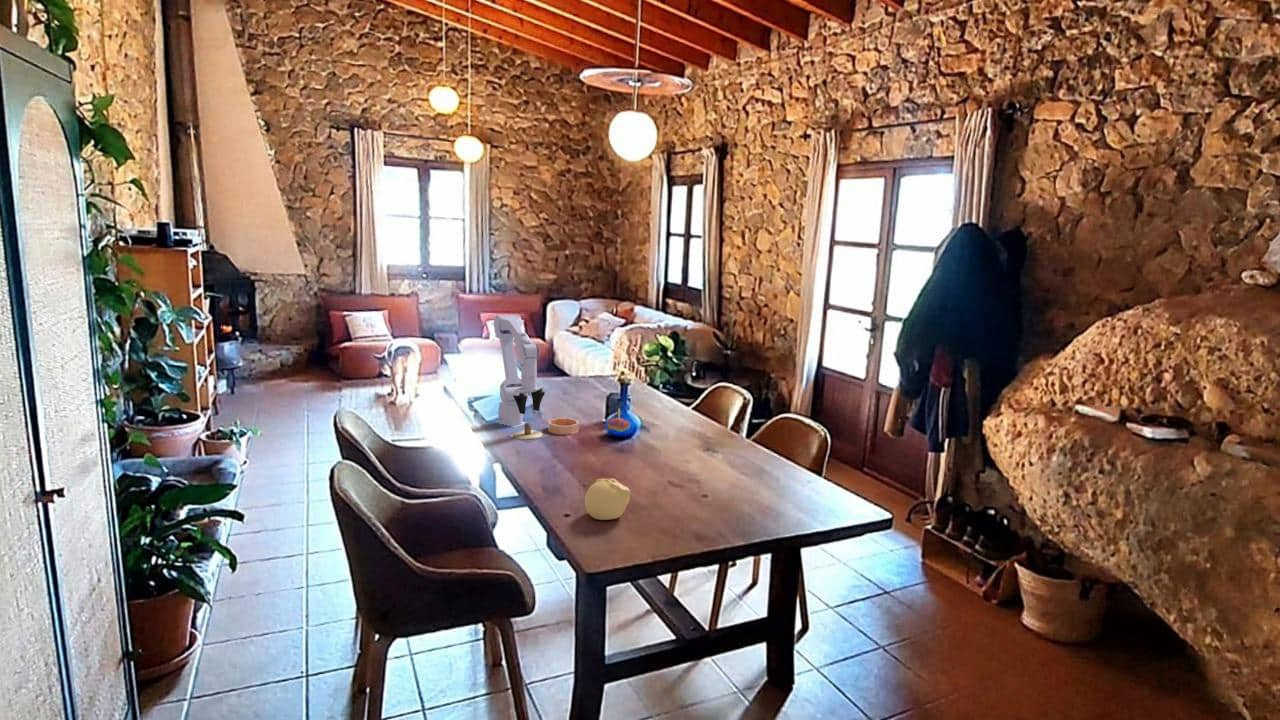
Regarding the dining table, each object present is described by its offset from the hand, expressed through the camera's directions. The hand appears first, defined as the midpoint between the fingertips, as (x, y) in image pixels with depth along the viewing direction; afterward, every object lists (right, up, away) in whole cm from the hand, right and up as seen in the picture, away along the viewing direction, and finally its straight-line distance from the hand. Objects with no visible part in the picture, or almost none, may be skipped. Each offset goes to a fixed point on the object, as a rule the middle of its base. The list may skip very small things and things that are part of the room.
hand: (529, 411), depth 273 cm
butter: (+32, -25, -67) cm, 78 cm away
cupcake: (+33, -10, +8) cm, 36 cm away
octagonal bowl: (+12, -8, +11) cm, 18 cm away
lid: (-1, -9, +2) cm, 9 cm away
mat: (-1, -9, +2) cm, 10 cm away
